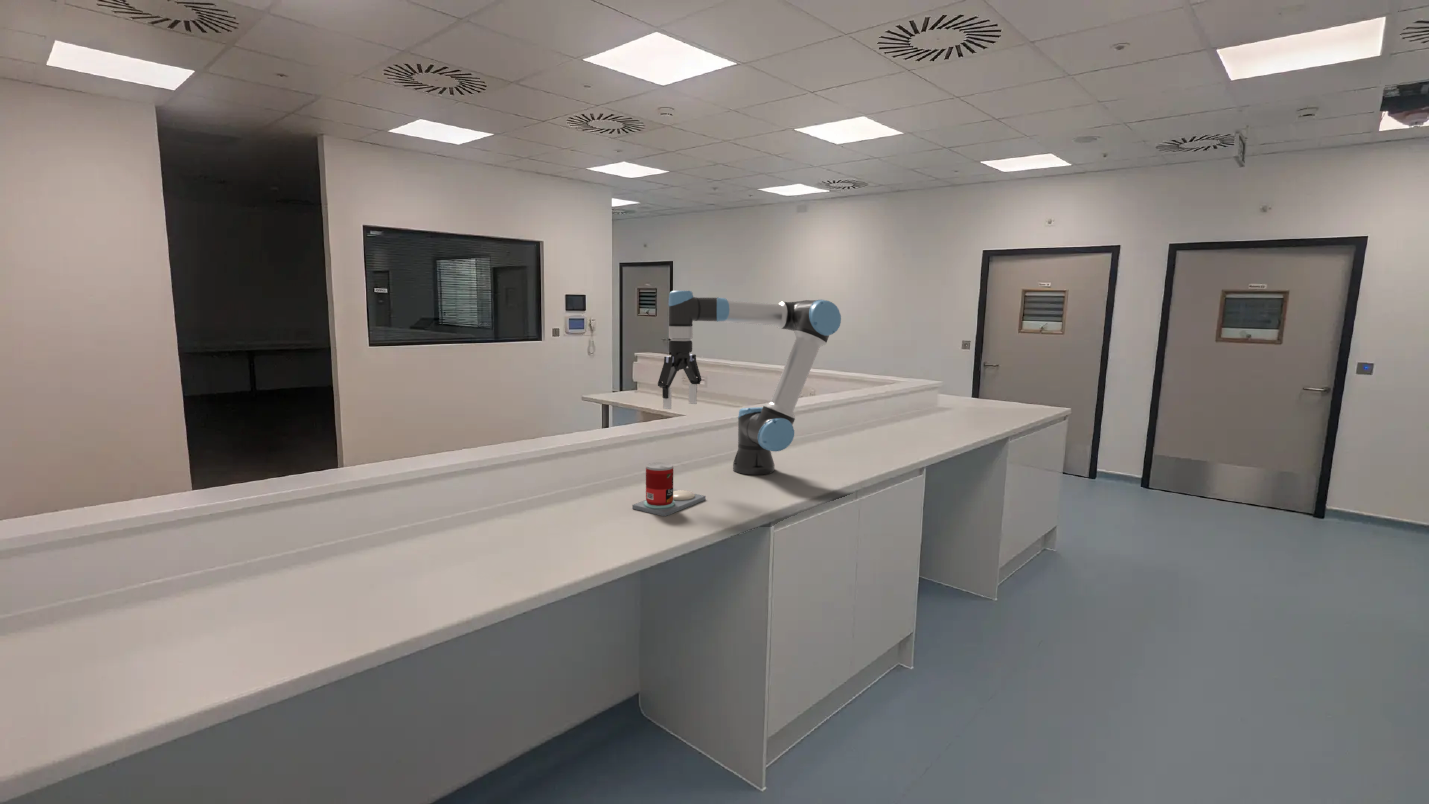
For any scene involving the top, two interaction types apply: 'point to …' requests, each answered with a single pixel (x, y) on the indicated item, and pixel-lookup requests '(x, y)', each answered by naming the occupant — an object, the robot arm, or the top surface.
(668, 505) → the pad
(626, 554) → the top surface
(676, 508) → the board
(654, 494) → the canned food
